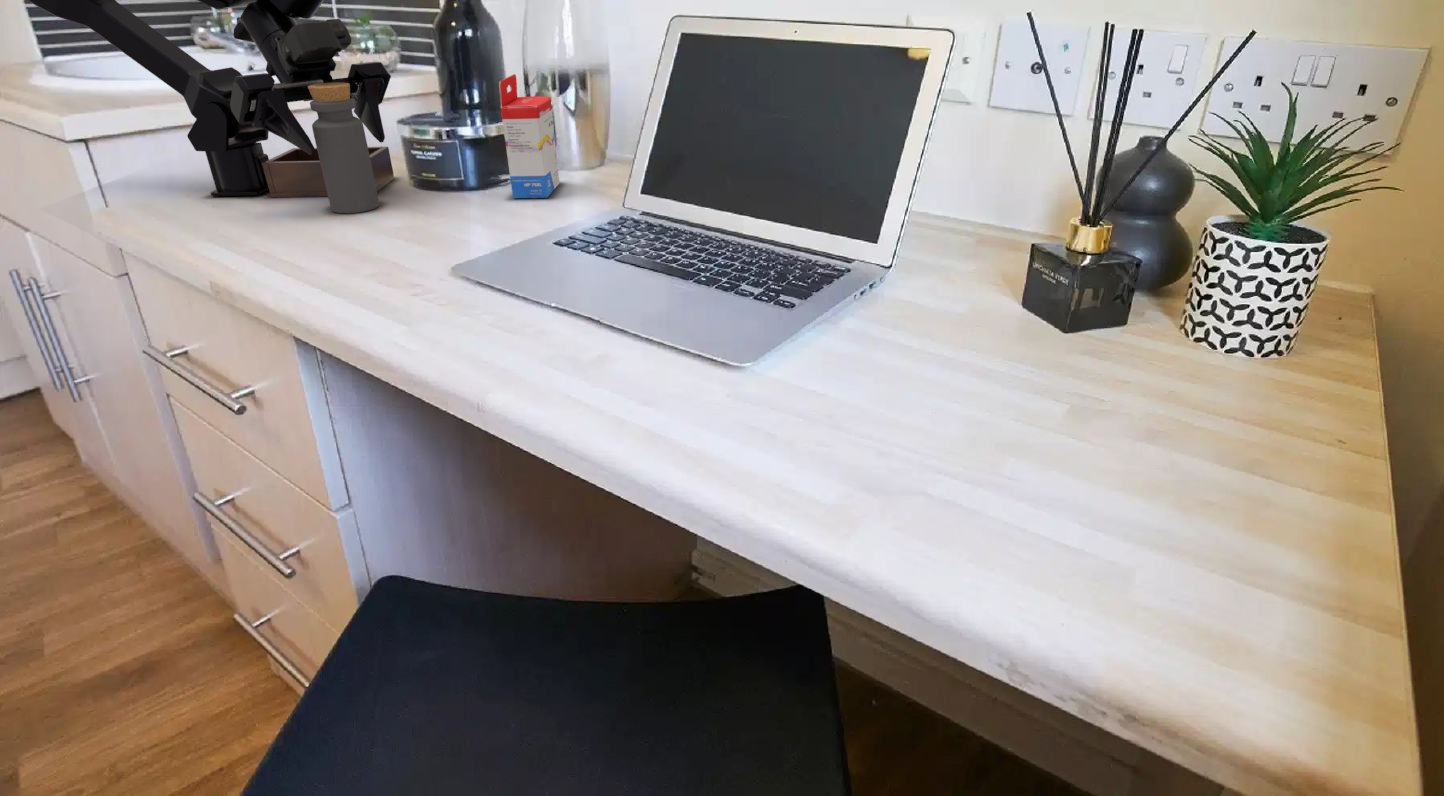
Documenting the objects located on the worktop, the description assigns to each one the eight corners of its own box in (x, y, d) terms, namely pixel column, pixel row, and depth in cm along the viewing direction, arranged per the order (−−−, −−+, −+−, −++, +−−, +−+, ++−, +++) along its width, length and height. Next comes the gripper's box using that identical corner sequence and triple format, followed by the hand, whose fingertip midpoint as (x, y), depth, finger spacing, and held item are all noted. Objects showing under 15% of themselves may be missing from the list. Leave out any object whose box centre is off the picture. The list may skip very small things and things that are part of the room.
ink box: (548, 198, 111) (535, 81, 104) (511, 199, 111) (496, 81, 104) (560, 183, 119) (549, 72, 112) (526, 183, 119) (512, 73, 112)
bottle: (384, 208, 108) (359, 85, 101) (336, 216, 105) (307, 89, 98) (373, 199, 112) (348, 80, 105) (326, 206, 109) (298, 84, 102)
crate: (270, 197, 114) (261, 162, 112) (300, 180, 122) (292, 148, 120) (371, 195, 114) (364, 161, 112) (394, 178, 122) (388, 146, 120)
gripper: (211, -1, 93) (284, 112, 92) (367, -8, 106) (433, 92, 104) (203, 70, 101) (269, 175, 100) (348, 56, 114) (409, 149, 113)
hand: (349, 146), depth 104 cm, fingers open, 9 cm apart
